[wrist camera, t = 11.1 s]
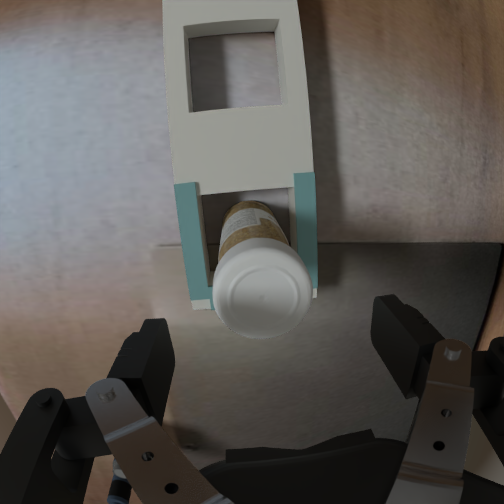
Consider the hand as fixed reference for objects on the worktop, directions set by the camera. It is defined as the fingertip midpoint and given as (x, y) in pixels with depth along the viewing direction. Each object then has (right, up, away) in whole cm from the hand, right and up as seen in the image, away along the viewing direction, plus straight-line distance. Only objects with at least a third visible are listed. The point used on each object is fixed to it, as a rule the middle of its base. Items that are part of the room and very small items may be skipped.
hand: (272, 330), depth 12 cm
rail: (-2, +17, +11) cm, 20 cm away
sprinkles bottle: (-1, +5, +15) cm, 16 cm away
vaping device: (-15, -19, +22) cm, 33 cm away
